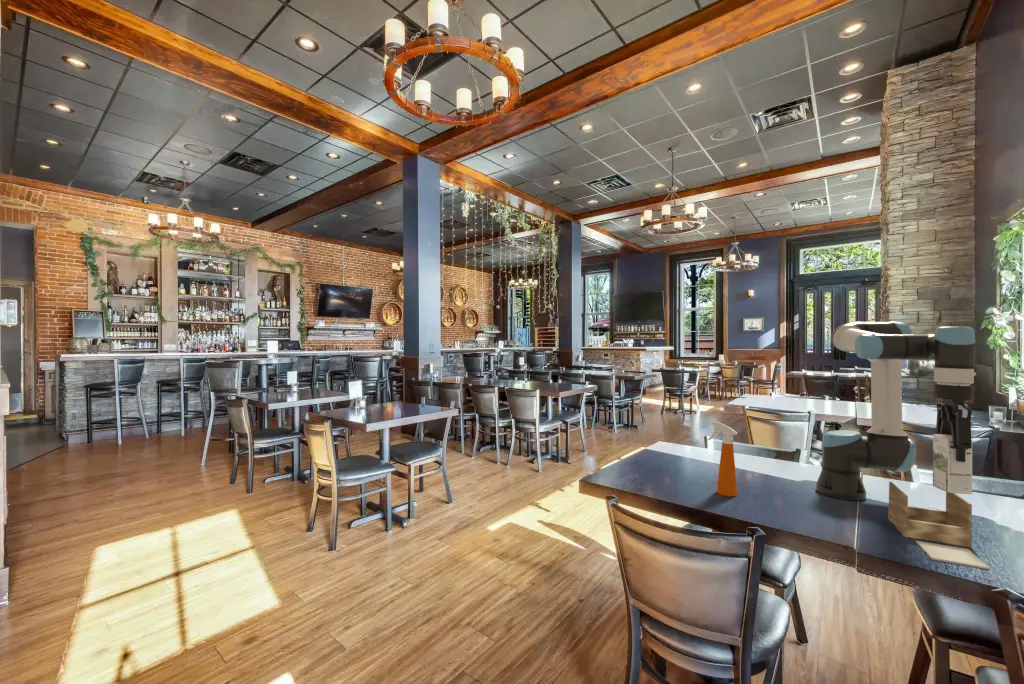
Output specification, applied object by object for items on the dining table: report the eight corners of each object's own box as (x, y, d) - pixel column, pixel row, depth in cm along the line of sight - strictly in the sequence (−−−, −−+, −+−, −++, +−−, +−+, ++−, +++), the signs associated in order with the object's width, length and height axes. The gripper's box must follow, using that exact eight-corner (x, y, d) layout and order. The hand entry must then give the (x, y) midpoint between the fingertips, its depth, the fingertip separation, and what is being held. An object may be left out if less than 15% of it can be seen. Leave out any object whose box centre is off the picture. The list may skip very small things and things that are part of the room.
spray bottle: (709, 486, 172) (710, 419, 172) (739, 493, 165) (740, 422, 165) (703, 491, 167) (704, 421, 166) (734, 498, 160) (735, 425, 160)
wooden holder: (904, 536, 130) (904, 495, 130) (888, 518, 143) (888, 481, 143) (971, 547, 123) (972, 504, 123) (948, 527, 136) (949, 488, 136)
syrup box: (973, 494, 115) (974, 439, 115) (946, 492, 116) (947, 437, 116) (956, 487, 121) (957, 434, 121) (931, 486, 122) (931, 433, 122)
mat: (931, 559, 116) (931, 557, 116) (916, 542, 126) (916, 540, 126) (989, 569, 111) (989, 567, 111) (968, 550, 121) (968, 549, 121)
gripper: (992, 388, 108) (990, 482, 108) (955, 381, 125) (954, 462, 126) (951, 386, 111) (949, 477, 111) (921, 380, 129) (919, 459, 129)
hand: (952, 469), depth 118 cm, fingers closed on syrup box, 7 cm apart
